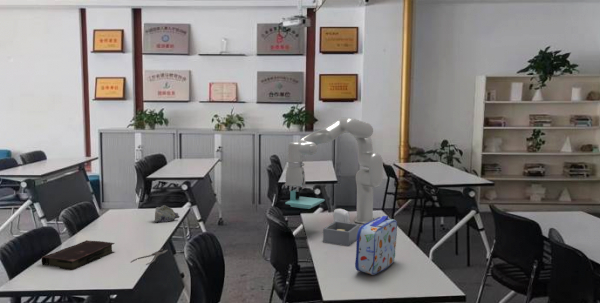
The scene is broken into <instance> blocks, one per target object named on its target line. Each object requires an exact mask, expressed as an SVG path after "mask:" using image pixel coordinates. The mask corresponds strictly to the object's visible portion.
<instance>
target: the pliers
mask: <svg viewBox="0 0 600 303" xmlns="http://www.w3.org/2000/svg"><path fill="white" fill-rule="evenodd" d="M166 252H168V249H166V250H164V249H163V248H161V249H159V250H157V251H155V252H153V253H151V254H149V255H144V256H141V257H137V258H135V259H133V260H131V261H130V263H133V262H136V261H137V259H138V260H141V259H145V258H148V257H153V256H154V257H153V259H152V260H151V261H149V262H148V263H146V264H145V265H146V266H147V265H150V264H152V263H153V262H155V261H156V259H157V258H158V256H161V255H162V254H166Z"/></svg>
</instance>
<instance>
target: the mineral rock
mask: <svg viewBox="0 0 600 303" xmlns="http://www.w3.org/2000/svg"><path fill="white" fill-rule="evenodd" d="M179 218H180V216H179V213H178V212H175V211H174V209H173V208H172V207H169V206H167V205H165V204H164V205H161V206H157V207H156V206H155V211H154V223H157V222H159V223H164V222H166V221H167V222H171V221H174V220H177V219H179ZM157 224H158V223H157Z"/></svg>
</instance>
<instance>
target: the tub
mask: <svg viewBox="0 0 600 303" xmlns="http://www.w3.org/2000/svg"><path fill="white" fill-rule="evenodd" d="M360 225H361V224H360V223H351V222H350V223H344V222H336V221H335V222H334V221H333V222H331V223H330V224H329V225H327V226H326V227H324V228H323V230H322V233H323V234H322V242H323V243H327V244H332V245H333V244H334V245H340V246H346V247H350V246H351V245H352V244H354V242H357V233H358V230H359V228H360V227H361V226H360Z"/></svg>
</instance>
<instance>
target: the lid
mask: <svg viewBox="0 0 600 303" xmlns="http://www.w3.org/2000/svg"><path fill="white" fill-rule="evenodd" d="M296 192H297V190H296V188H295V189H293V190H292V191H289V198H290V199H289V200H287V201H285V205H290V208H291V207H292V208H299V209H306V210H307V209H308V210H309V209H312V208H314V207H317V206H319V205H320V204H321V203H323V202H325V199H324V198H316V197H310V196H309V197H307V196H301V195H300V197H299V199H296Z"/></svg>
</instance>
